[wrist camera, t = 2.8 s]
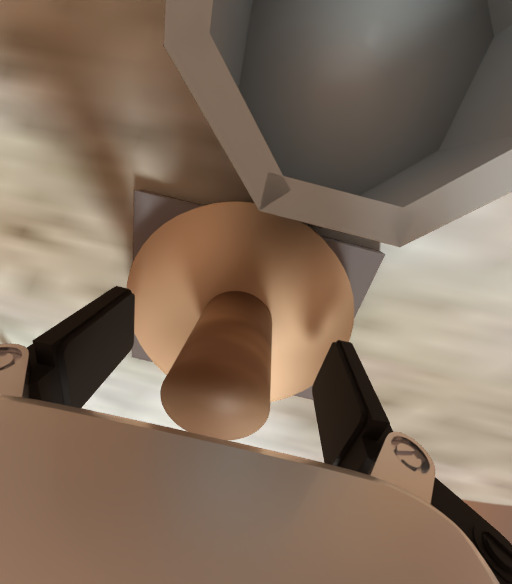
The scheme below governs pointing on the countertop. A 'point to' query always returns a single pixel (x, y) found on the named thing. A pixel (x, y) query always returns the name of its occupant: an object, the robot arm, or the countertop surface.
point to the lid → (236, 313)
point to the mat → (162, 209)
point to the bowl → (355, 105)
